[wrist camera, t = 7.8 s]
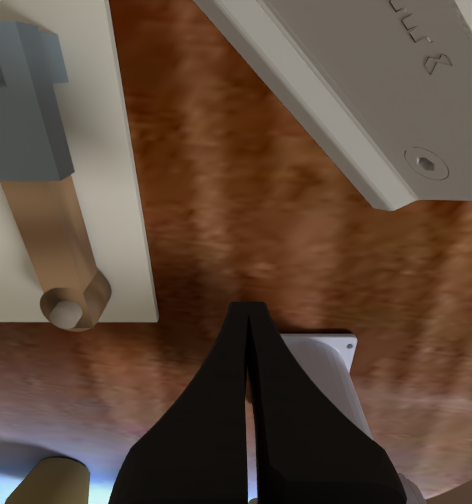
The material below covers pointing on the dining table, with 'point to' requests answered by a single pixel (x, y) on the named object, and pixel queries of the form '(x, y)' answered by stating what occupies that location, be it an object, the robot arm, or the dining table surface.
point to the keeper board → (70, 149)
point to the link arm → (59, 251)
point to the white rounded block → (369, 86)
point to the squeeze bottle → (53, 484)
